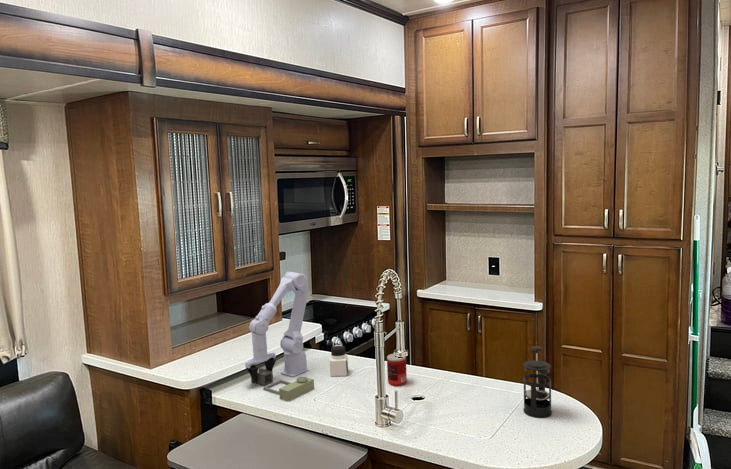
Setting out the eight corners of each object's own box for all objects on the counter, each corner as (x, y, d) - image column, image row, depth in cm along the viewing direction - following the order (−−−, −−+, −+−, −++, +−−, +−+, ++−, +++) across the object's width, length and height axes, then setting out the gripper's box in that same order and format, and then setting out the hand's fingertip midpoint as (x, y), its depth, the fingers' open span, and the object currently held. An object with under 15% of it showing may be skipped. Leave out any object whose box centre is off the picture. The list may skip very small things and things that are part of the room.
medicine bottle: (347, 376, 222) (345, 348, 220) (330, 376, 222) (328, 349, 220) (348, 370, 229) (346, 343, 227) (331, 370, 229) (330, 344, 227)
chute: (251, 382, 220) (250, 371, 219) (260, 378, 223) (260, 367, 223) (264, 386, 215) (263, 375, 214) (273, 382, 218) (272, 371, 218)
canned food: (407, 378, 216) (406, 352, 215) (406, 386, 208) (405, 359, 207) (388, 378, 216) (387, 353, 215) (387, 386, 209) (386, 359, 207)
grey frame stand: (285, 380, 220) (284, 368, 220) (314, 388, 210) (313, 376, 209) (259, 391, 210) (258, 379, 209) (288, 401, 199) (287, 388, 198)
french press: (547, 421, 174) (546, 354, 171) (519, 415, 179) (518, 350, 176) (556, 407, 183) (555, 343, 181) (529, 402, 188) (528, 340, 186)
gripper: (266, 341, 225) (269, 371, 227) (239, 351, 214) (242, 383, 216) (278, 344, 221) (280, 375, 222) (250, 354, 210) (253, 386, 211)
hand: (262, 379), depth 219 cm, fingers open, 7 cm apart
